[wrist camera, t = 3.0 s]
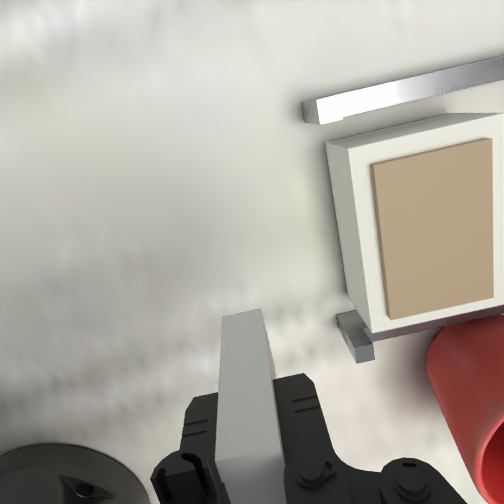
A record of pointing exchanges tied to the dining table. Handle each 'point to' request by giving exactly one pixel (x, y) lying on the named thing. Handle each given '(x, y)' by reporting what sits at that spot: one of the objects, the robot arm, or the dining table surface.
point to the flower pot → (473, 396)
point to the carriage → (421, 218)
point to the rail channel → (380, 97)
